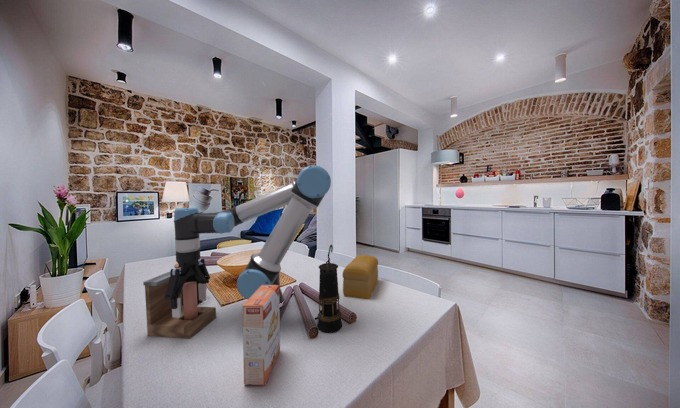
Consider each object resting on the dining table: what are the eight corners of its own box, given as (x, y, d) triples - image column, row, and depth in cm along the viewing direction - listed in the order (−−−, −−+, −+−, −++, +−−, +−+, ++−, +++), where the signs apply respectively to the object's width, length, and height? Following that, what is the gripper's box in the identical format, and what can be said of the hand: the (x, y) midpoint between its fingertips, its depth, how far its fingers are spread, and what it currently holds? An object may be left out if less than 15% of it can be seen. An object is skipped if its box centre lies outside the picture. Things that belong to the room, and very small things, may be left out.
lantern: (312, 330, 85) (311, 246, 84) (324, 317, 93) (322, 241, 92) (336, 335, 82) (335, 248, 80) (345, 322, 90) (344, 242, 89)
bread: (369, 300, 108) (369, 267, 108) (342, 296, 112) (341, 265, 112) (378, 281, 131) (378, 254, 131) (355, 278, 136) (355, 252, 135)
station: (216, 316, 96) (214, 269, 95) (188, 339, 81) (186, 283, 80) (180, 314, 97) (178, 268, 97) (146, 336, 83) (143, 281, 82)
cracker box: (266, 386, 60) (264, 305, 59) (243, 386, 61) (240, 305, 60) (281, 350, 74) (280, 283, 73) (262, 350, 75) (260, 284, 74)
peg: (201, 323, 91) (199, 281, 90) (192, 330, 86) (190, 286, 86) (190, 322, 91) (188, 281, 90) (181, 329, 87) (179, 285, 86)
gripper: (201, 243, 100) (203, 293, 101) (148, 259, 76) (151, 325, 77) (218, 243, 99) (220, 294, 100) (169, 259, 75) (173, 326, 76)
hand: (190, 308), depth 88 cm, fingers open, 12 cm apart
